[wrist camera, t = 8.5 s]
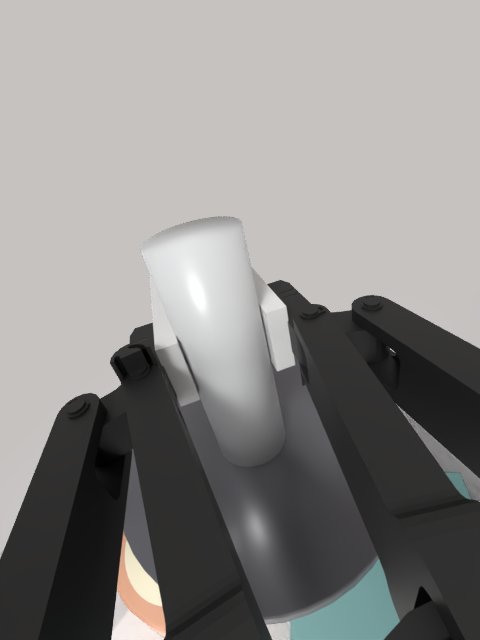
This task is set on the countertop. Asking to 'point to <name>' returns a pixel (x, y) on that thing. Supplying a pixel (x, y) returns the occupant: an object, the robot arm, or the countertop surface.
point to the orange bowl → (140, 591)
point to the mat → (359, 606)
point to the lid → (252, 432)
